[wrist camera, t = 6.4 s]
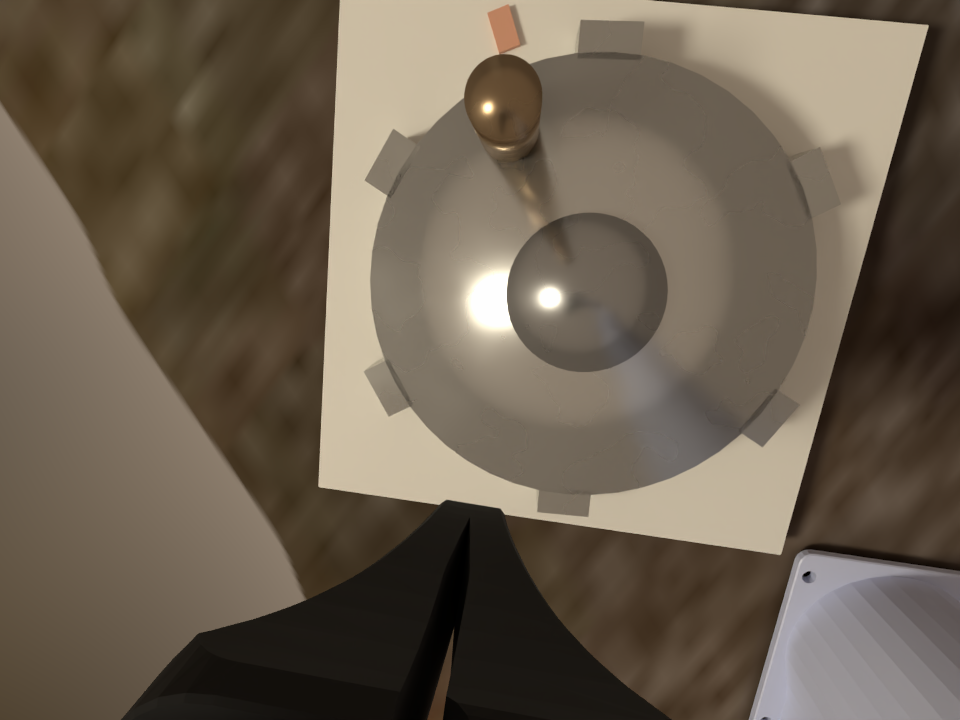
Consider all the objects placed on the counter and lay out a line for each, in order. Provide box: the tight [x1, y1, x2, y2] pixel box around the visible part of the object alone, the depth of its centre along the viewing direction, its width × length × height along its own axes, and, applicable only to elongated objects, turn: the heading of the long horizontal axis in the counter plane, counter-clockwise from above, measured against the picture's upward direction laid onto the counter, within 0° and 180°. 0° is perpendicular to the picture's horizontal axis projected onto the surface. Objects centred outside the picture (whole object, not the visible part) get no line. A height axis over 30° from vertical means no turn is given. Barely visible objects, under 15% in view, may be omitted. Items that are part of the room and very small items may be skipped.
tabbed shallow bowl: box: [364, 20, 841, 517], centre depth 16 cm, size 14×16×6 cm
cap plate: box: [319, 0, 929, 555], centre depth 19 cm, size 18×18×1 cm
